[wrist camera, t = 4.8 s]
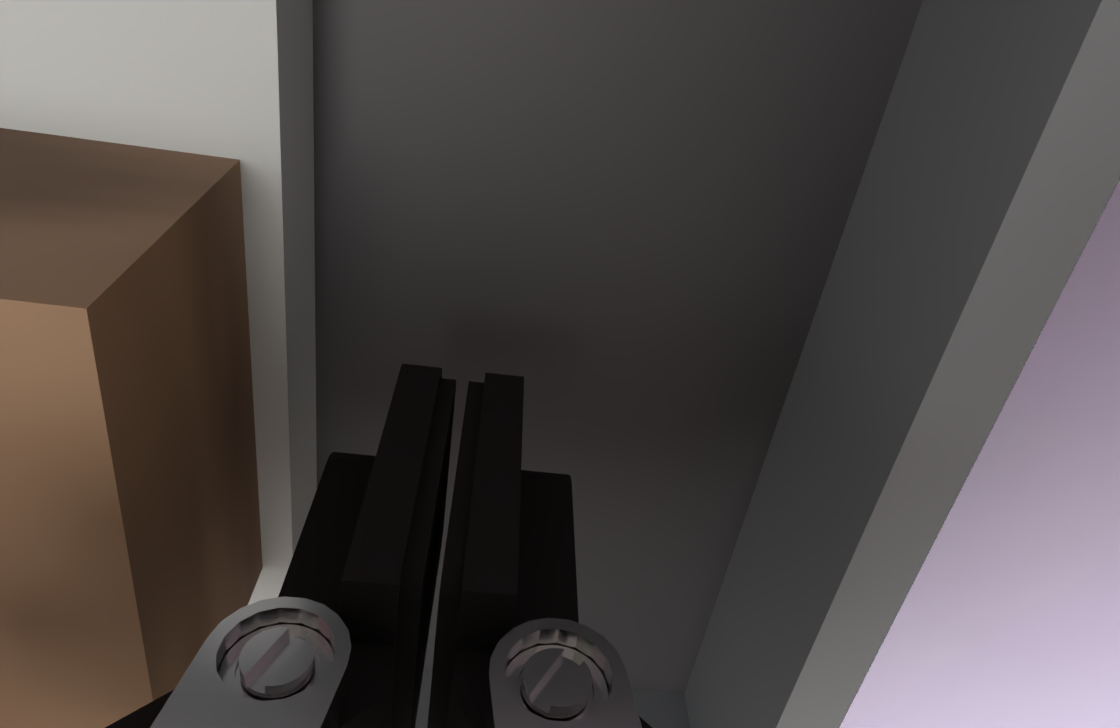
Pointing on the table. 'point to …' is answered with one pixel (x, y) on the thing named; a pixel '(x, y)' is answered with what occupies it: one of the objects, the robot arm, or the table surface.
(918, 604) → the table surface
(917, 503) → the box
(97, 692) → the walnut block
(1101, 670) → the table surface
